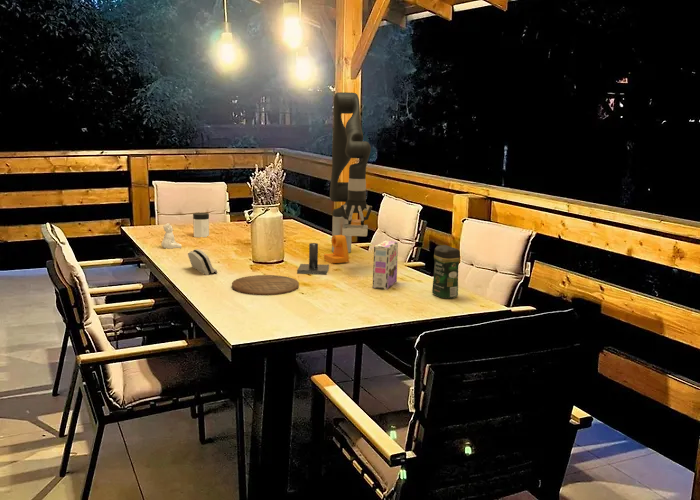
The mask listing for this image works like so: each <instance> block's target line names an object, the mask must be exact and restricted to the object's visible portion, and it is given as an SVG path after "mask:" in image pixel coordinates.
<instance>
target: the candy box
mask: <svg viewBox="0 0 700 500" xmlns="http://www.w3.org/2000/svg"><path fill="white" fill-rule="evenodd" d="M398 247H399V242H398V241H393V240H383V241H382V242H380V243H378V244H376V245H374V246H373V266H372V267H373V268H372V269H373V270H372V288H373V289H381V290H388V289H389V288H390V287H392V286H393V285H395V284H396V283H397V280H398V278H397V277H398V275H397V274H398V254H399V253H398V251H399V248H398Z"/></svg>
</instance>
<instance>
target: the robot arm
mask: <svg viewBox="0 0 700 500" xmlns="http://www.w3.org/2000/svg"><path fill="white" fill-rule="evenodd" d="M360 107H361V106H360V99H359V96H358V94H357V92H356V93H355V92H346V91H345V92H344V91H343V92H342V91H341V92H340V91H339V92H336V93H334V97H333V136H332V148H331V149H332V150H331V154H332V155H331V156H332V157H331V160H332V161H331V176H330V177H331V178H330V185H329V199H330V200H331V202H333V203H334V202H335V203H343V204H342V205H340V207H337V208H335V209H333V210H332V220H331V221H332V225H331V226H332V228H331V230H332V231H331V235H332V236H333V235H342V228H343V225H344V224H351V221H352V220H353V215H354V214H359V216H360V220H361V225H365V221H367V220H369V217H370V215H371V212H372V210H373V206H372V205H368V204H367V202H366V201H367V200H366V196H367V194H366V192H367V181H366V178H367V177H366V174H367V167H368V166H367V165H368V162H369V158H370V155H371V150H372V149H371V144H370V143H369V142H368V141H364V134H363V130H362V129H363V128H362V125H361V109H360ZM342 114H346V115H347V114H348V115H349V114H351V116H350V117H349V119H348V120H347V121H346V124H345V125H344V122H343V120H342ZM351 159H360V161H359V162H356V163H352V164H350V165H349V167H348V182H347V181H345V182H343V181H342V182H341V181H339V179H340V176H341V174H342V173H343V170H344V169H345V167H347V165H348V164H349V163H350V160H351ZM365 208H366V211H367V212H366V215H365V216H364V212H363V211H365ZM332 236H331V237H332ZM345 237H346V241H347V248H348V254H350V253H351V252H352V236H345ZM332 252H334V247H333V246H332V245H331V253H332Z"/></svg>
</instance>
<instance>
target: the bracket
mask: <svg viewBox="0 0 700 500" xmlns="http://www.w3.org/2000/svg"><path fill="white" fill-rule="evenodd" d="M332 246H333V247H334V252H333V253H332V252H331V253H324V254H323V256H324V257H323V259H324V260H325V262H327V263H329V264H340V263H347V262H348V263H349V262H350V256H349V254H350V253H348V248H347V241H346V237H345V236H342V235H333V236H331V247H332Z"/></svg>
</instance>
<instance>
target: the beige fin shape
mask: <svg viewBox="0 0 700 500" xmlns="http://www.w3.org/2000/svg"><path fill="white" fill-rule="evenodd" d="M187 257H188V258H189V261H190V265H191V267H192V269H194V268H195V269H194V270H196V269H197V270H196V271H198V272H200V273H201V272H202V273H201V274H203V273H204V274H203V275H205V276H209V275H210V274H211V273H212V274H213V273H214V272H215V273H214V274H216V273H218V271H217V269H215V268H214V267H213V264H212V263H211V260H210V258H209V256H208V255H207V253H205V252H204V251H203V250H201V249H198V248H197V249H193V250H192V251H191V250H190V251H189V252H188V253H187ZM218 274H219V273H218Z"/></svg>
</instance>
